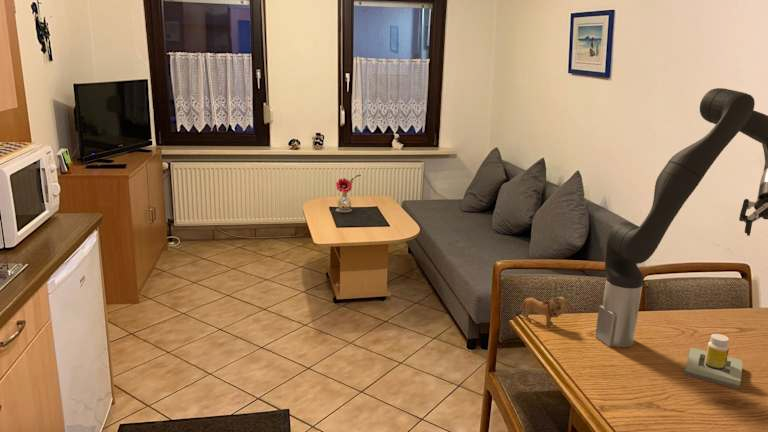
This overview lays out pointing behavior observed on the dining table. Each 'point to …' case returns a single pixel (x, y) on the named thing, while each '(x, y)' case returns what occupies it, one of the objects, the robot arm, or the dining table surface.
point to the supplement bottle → (717, 352)
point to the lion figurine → (544, 308)
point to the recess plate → (726, 377)
